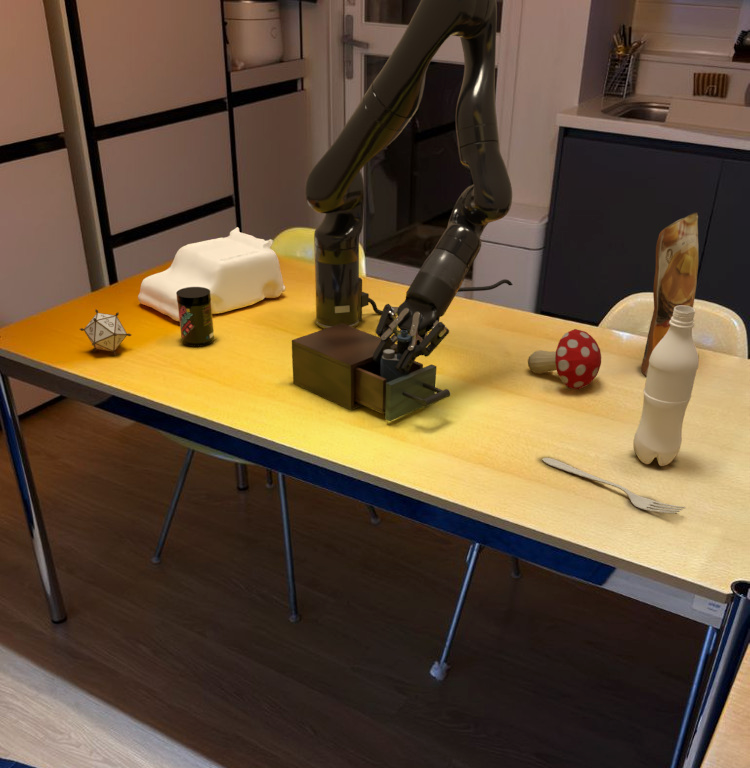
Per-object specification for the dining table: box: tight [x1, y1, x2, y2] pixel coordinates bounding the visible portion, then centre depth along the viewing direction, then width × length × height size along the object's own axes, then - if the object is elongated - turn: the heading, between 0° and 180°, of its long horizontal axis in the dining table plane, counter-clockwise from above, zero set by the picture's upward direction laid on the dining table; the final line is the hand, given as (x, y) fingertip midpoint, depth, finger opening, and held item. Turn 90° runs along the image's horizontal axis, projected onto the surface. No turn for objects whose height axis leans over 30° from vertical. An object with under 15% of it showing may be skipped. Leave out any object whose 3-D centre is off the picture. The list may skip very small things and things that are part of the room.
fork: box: [541, 457, 686, 515], centre depth 133 cm, size 3×24×2 cm, turn 44°
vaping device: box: [380, 330, 411, 383], centre depth 152 cm, size 3×5×12 cm, turn 78°
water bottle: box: [633, 306, 700, 467], centre depth 135 cm, size 7×7×25 cm
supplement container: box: [176, 287, 215, 348], centre depth 178 cm, size 7×7×10 cm
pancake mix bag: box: [640, 211, 699, 377], centre depth 167 cm, size 7×19×28 cm, turn 136°
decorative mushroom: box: [527, 328, 602, 391], centre depth 165 cm, size 11×11×15 cm
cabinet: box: [291, 323, 397, 411], centre depth 161 cm, size 16×13×9 cm
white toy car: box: [137, 226, 286, 323], centre depth 198 cm, size 19×30×13 cm, turn 133°
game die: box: [79, 308, 132, 356], centre depth 174 cm, size 9×8×10 cm
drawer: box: [354, 353, 451, 422], centre depth 154 cm, size 20×11×7 cm, turn 45°
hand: (387, 366), depth 151 cm, fingers closed on vaping device, 5 cm apart
